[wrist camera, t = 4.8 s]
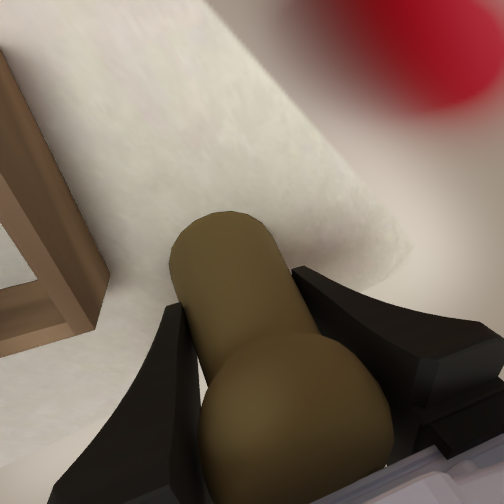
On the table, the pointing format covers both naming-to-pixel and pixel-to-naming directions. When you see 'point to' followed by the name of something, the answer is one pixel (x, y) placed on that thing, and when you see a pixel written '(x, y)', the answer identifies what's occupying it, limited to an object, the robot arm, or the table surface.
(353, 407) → the olive game pawn
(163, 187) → the table surface
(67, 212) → the walnut stand
